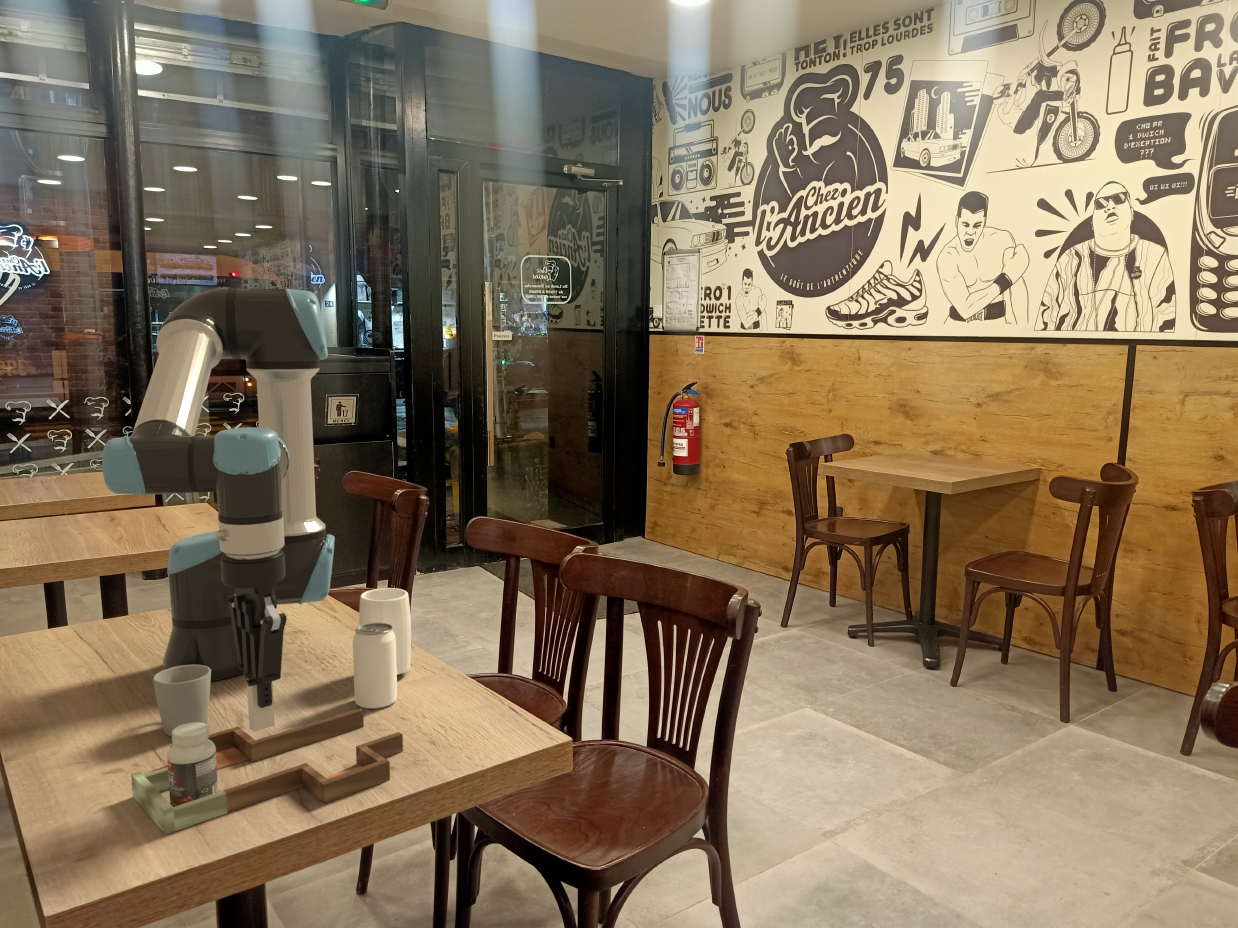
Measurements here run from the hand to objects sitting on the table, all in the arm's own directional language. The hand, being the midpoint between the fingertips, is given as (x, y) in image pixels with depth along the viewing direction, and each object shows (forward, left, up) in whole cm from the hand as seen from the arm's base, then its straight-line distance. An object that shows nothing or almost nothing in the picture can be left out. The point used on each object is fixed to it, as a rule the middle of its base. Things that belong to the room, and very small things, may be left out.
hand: (262, 726), depth 118 cm
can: (-11, +23, -7) cm, 26 cm away
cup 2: (-20, +30, -7) cm, 37 cm away
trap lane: (+1, +2, -7) cm, 7 cm away
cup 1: (-22, -2, -7) cm, 23 cm away
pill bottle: (+2, -9, -7) cm, 12 cm away
